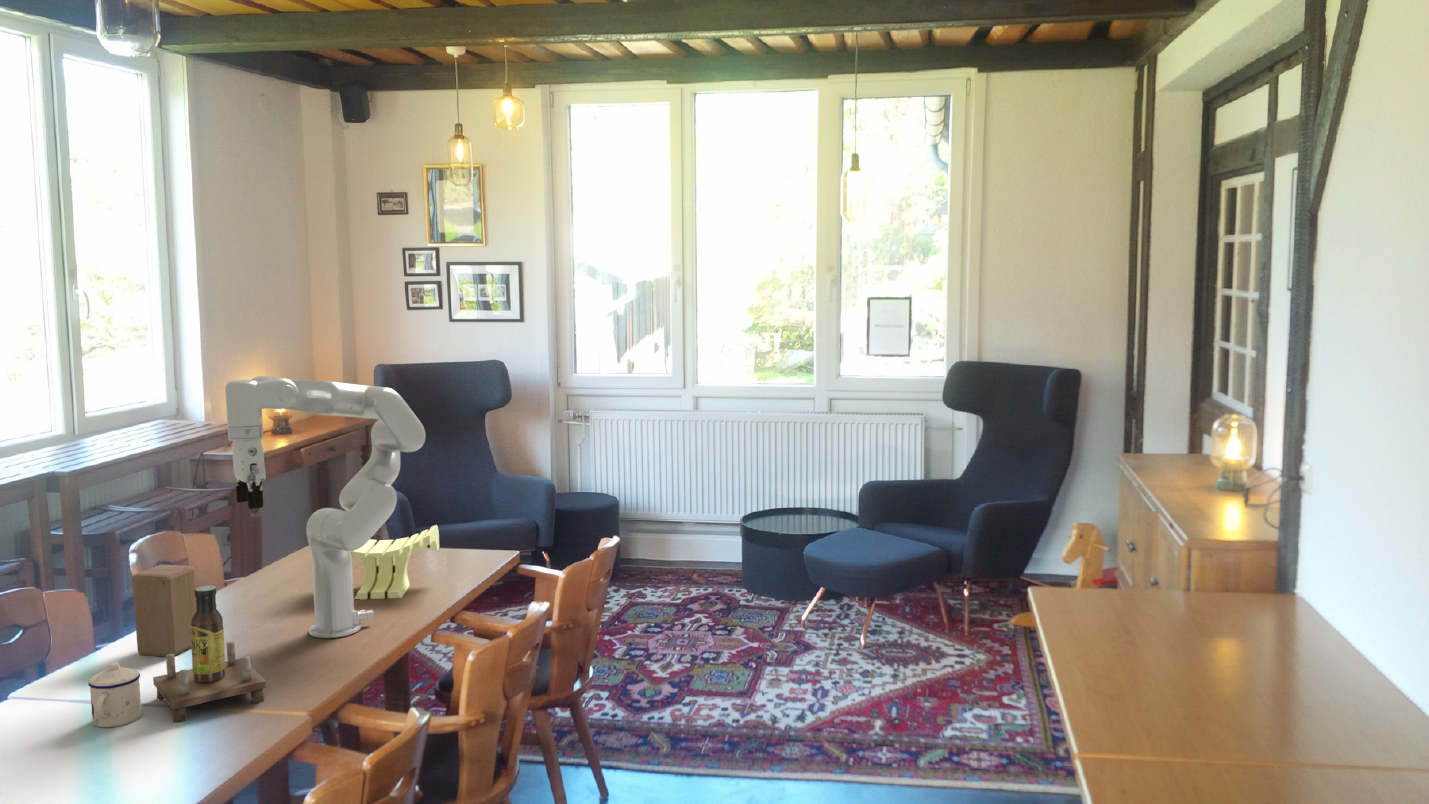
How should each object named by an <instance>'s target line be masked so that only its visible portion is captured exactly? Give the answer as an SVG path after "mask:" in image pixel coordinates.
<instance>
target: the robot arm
mask: <svg viewBox="0 0 1429 804" xmlns="http://www.w3.org/2000/svg"><path fill="white" fill-rule="evenodd" d="M224 391H225V404H226V421H227V438H228V439H227V440H228V441H229V442H231V441H232V466H233V467H232V468H233V475H234V478H235V492H236V493H235V494H236V495H235V497H236V502H237V503H247V508H248V509H250V510H253V509H261V508H264V496H263V494H264V493H263V481H266V478H267V476H266V475H267V474H266V466H265V456H264V455H265V454H264V447H263V443H262V440H263V439H265V438H264V425H263V423H264V422H263V421H264V420H263V410H267V409H271V410H283V409H284V410H292V411H293V410H294V411H299V412H300V411H301V412H305V413H310V414H313V415H314V414H316V415H323V416H324V415H325V416H338V417H348V418H358V419H359V418H360V419H373V420H376V421H375V422H374V424H373V426H372V427H371V431H370V440H371V454H370V457H369V459H368V460H367V462H365V464H364V465H363V467H362V468H360V470H359V471H358V472H357V473H356V474H355V475H354V476H353V477H352V478H351V479H350V480H349V481H348V483H346V485H344V487H343V488H342V489H341V491H340V494H339V498H338V501H339V504H340V506H341V508H342V509H339V508H334V507H324V508H320V509H317V510H316V511H315V512H313V513H312V514H311V515H310V517H309V518H308V520H307V521H306V522H307V523H306V538H307V542H308V545H309V546H308V547H309V550H310V557H311V566H312V567H311V568H312V571H311V572H312V589H313V607H314V608H313V609H314V624H313V625H310V627H309V628H308V635H310V636H311V637H315V638H319V639H333V638H334V639H335V638H341V637H346V636H350V635H352V634H356V633H357V632H359V631H361V629H362V622H361V621H362V620H364V619H371V618H374V616H375V614H374V613H375V612H374V610H373V609H369V610H365V609H362V610H361V609H360V610H357V609H355V600H354V598H355V596H354V578H353V559H352V558H353V557H352V556H351V553H350V551H354V550H357V549H359V548H361V547H362V546H363V545H365V544H366V543H367V542H368V541H369V540H370V539H371V538H372V537H373V536H374V535H375V534H376V533H377V532H378V531H379V529H381V527H382V526H383V525H384V524H385V523H386V522H387V520H388V519H389V518H390V517H391V516H392V514H393V513H394V510H395V508H396V506H397V501H398V496H397V492H396V490H395V487H393V486H392V484H393V483H394V482H395V481H396V479H397V478H398V476H399V474H400V470H401V452H404V453H413V452H416V451H418V450H420V449H421V448H422V447H423V446H424V444H425V441H426V436H427V435H426V430H425V428H424V425H423V424H422V422H421V421H420V419H419V418H418V417H417V416H416V415H417V414H415V413H414V411H413V410H412V409H411V408H410V406H409V404H408V403H407V402H406V400H404V398H403V397H402V395H400V393H398V392H397V391H396V390H394V389H393V388H390V387H388V386H387V387H386V386H375V385H368V384H367V385H365V384H359V383H358V384H357V383H349V382H348V383H347V382H340V381H339V382H338V381H332V380H318V379H317V380H306V379H305V380H303V379H289V378H285V377H278V376H269V375H264V376H263V375H258V376H255V377H253V378H251V379H236V380H230V381H228V382H227V383H226V384H225V390H224ZM343 509H344V510H343Z"/></svg>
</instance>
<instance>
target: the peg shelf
mask: <svg viewBox="0 0 1429 804" xmlns="http://www.w3.org/2000/svg"><path fill="white" fill-rule="evenodd" d="M175 656H176V655H175ZM175 656H174V654H168V655H166V656H165V661H166V664H165V665H166V674H162V675H158V676H154V677H153V680H152V681H153V686H155V689H156V696H157V700H158V699H159V700H158V701H165V702H166V704H168V707H170V709H171V711H172V722H173V723H183V722H185V721H186V720H187V707H191V706H195V705H199V704H204V703H208V702H213V701H216V700H217V701H218V700H220V699H224V698H229V697H234V696H238V695H242V694H246V693H250V697H251V698H250V700H251V704H260V703H259V702H261V703H263V702H264V701H265V697H264V696H265V695H264V689H267V681H266V680H265V678H263V676H262V675H260V674H259V673H258V672H257V670H255V668H254V667H252V665H251V658H250V657H251V656H250V655H249V656H248V655H246V656H242V657H241V658H236V644H235V641H228V642H226V656H227V657H226V658H227V660H225V668H224V670H225V676H224V677H223V678H222V679H220V680H218V681H214V682H208V683H203V682H197V681H195V679H194V673H193V670H192V668H190V669H181V670H179V671H176V657H175ZM163 699H165V700H163Z"/></svg>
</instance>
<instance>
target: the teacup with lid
mask: <svg viewBox="0 0 1429 804" xmlns="http://www.w3.org/2000/svg"><path fill="white" fill-rule="evenodd" d="M140 677H141V674H140V672H139V670H138V669H136V668H131V667H125V666H120V663H118V662H112V663H109V664H108V665H107V668H105V669H104V670H102V671H101V672H99V673H96V674H95V675H93V676H91V677H90V678H89V680H88V682H87V683H88V687H89V692H90V705H91V717H92V723H93V725H94V726H95V727H97V728H114V727H120V726H121V727H122V726H124V725H127V724H131V723H133V722H135V721H136V720H138V719H139V718H140V717H141V716H142V703H141V702H142V701H141V700H142V699H141V688H140V687H141V686H140V685H141V684H140Z"/></svg>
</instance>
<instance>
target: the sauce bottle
mask: <svg viewBox="0 0 1429 804" xmlns="http://www.w3.org/2000/svg"><path fill="white" fill-rule="evenodd" d="M216 594H217V587H216V586H215V585H201V586H199V587H196V589H195V597H196V610H197V611H196V613H195V614H194V616H193V618H192V620H191V645H192V647H191V667H192V668H191V669H192V670H193V673H194V679H195V681H197V682H203V683H208V682H214V681H218V680H220V679H222V678H223V677H224V676H225V670H224V668H225V662H226V654H225V653H226V652H225V632H224V631H225V630H224V629H225V628H224V621H223V616H222V614H221V612H220V611H219V610H218V609H217V603H216V602H217V601H216V599H217V598H216Z"/></svg>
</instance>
